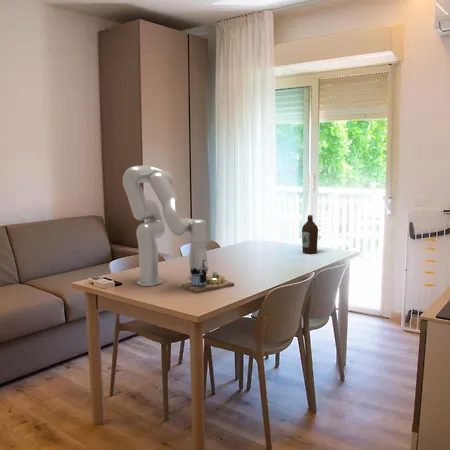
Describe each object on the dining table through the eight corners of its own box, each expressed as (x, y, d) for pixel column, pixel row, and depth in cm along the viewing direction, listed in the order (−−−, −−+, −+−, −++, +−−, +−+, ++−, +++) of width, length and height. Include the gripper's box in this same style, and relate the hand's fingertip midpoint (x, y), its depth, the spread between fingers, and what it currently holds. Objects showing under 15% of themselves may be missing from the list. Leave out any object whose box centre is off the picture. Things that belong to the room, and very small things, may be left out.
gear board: (181, 287, 242) (181, 274, 241) (218, 280, 254) (218, 268, 253) (195, 293, 230) (195, 280, 229) (234, 286, 242) (234, 273, 241)
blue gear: (188, 282, 240) (188, 274, 239) (201, 280, 244) (201, 272, 243) (196, 286, 234) (196, 278, 233) (209, 284, 238) (209, 276, 237)
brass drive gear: (201, 281, 245) (201, 272, 244) (217, 279, 251) (217, 269, 250) (211, 286, 237) (211, 276, 236) (228, 282, 242) (228, 273, 242)
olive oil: (310, 250, 330) (310, 214, 326) (321, 253, 321) (321, 215, 317) (298, 252, 324) (298, 215, 321) (309, 255, 315) (309, 216, 312)
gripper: (182, 243, 241) (183, 278, 244) (201, 248, 227) (201, 285, 229) (196, 241, 245) (196, 275, 248) (214, 246, 231) (215, 283, 233)
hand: (199, 280), depth 239 cm, fingers closed on blue gear, 7 cm apart
